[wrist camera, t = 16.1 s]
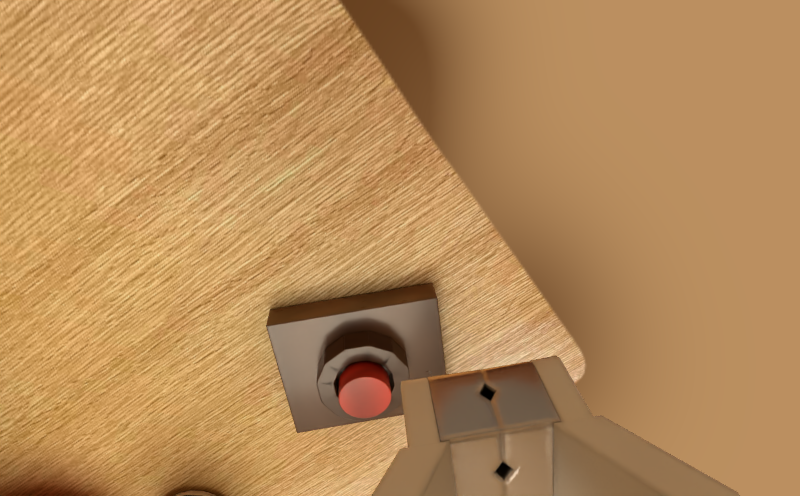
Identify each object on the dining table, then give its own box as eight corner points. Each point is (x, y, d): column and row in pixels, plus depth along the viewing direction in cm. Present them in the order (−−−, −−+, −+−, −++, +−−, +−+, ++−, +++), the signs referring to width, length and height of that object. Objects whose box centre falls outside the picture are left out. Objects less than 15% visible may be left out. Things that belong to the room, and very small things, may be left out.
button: (385, 356, 37) (387, 372, 35) (392, 396, 38) (394, 413, 37) (334, 365, 37) (334, 381, 35) (343, 405, 38) (343, 422, 36)
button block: (432, 282, 39) (441, 311, 35) (445, 388, 43) (454, 423, 39) (269, 309, 38) (262, 341, 35) (299, 413, 43) (295, 451, 39)
